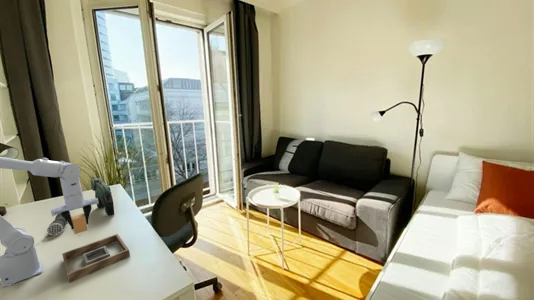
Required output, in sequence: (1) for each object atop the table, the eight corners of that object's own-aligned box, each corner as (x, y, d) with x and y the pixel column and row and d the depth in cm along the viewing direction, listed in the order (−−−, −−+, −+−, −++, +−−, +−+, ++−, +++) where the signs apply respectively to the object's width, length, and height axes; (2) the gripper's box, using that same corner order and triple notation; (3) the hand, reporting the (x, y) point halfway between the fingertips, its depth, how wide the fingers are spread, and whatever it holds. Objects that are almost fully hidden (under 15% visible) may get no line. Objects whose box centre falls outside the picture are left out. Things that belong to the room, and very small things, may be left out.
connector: (75, 234, 94) (72, 220, 93) (73, 230, 97) (70, 216, 96) (87, 230, 97) (85, 216, 96) (86, 226, 100) (83, 213, 99)
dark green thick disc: (94, 207, 135) (87, 172, 131) (107, 203, 140) (101, 170, 136) (105, 218, 122) (98, 180, 118) (119, 213, 127) (113, 177, 123)
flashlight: (57, 222, 120) (55, 211, 119) (71, 219, 123) (69, 209, 122) (48, 236, 107) (45, 225, 106) (64, 233, 110) (61, 222, 109)
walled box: (69, 282, 79) (67, 274, 79) (63, 260, 90) (62, 253, 90) (130, 256, 91) (129, 249, 91) (118, 240, 103) (117, 233, 102)
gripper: (93, 186, 101) (99, 216, 104) (47, 196, 92) (55, 229, 95) (97, 190, 97) (103, 221, 99) (48, 201, 87) (56, 236, 90)
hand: (79, 225), depth 97 cm, fingers closed on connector, 4 cm apart
